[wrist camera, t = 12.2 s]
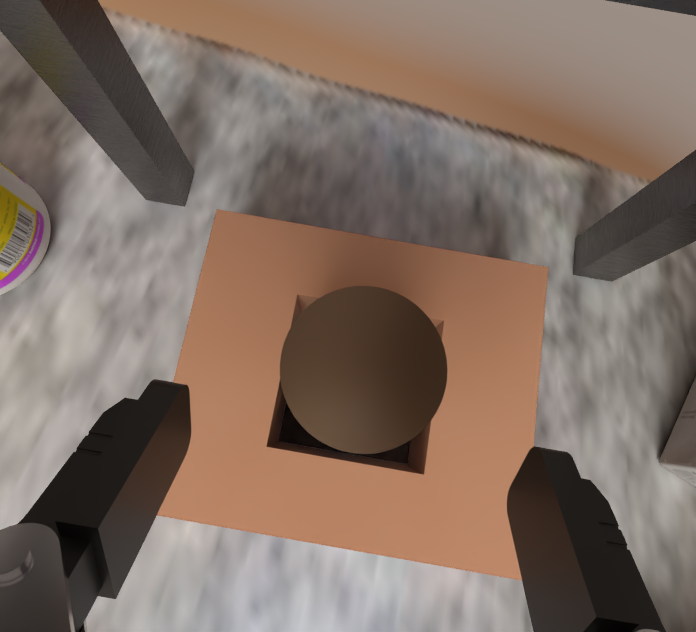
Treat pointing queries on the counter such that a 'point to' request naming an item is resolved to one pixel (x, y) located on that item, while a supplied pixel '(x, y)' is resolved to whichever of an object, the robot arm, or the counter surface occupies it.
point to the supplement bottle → (20, 230)
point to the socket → (342, 468)
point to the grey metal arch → (176, 172)
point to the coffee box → (683, 442)
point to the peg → (363, 369)
